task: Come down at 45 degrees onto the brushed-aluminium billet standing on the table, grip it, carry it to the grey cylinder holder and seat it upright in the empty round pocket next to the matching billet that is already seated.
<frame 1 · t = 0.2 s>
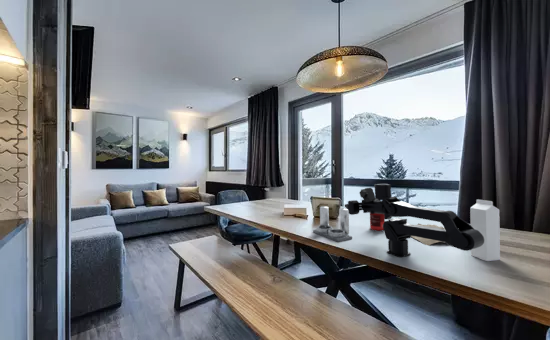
hand: (351, 204, 119), 17 cm above the table, tool horizontal, fingers open, 9 cm apart
billet: (344, 232, 128), on the table
grey cylinder holder: (331, 235, 124), on the table
canned food: (377, 229, 134), on the table
stone slab: (431, 236, 120), on the table
milk: (485, 258, 90), on the table
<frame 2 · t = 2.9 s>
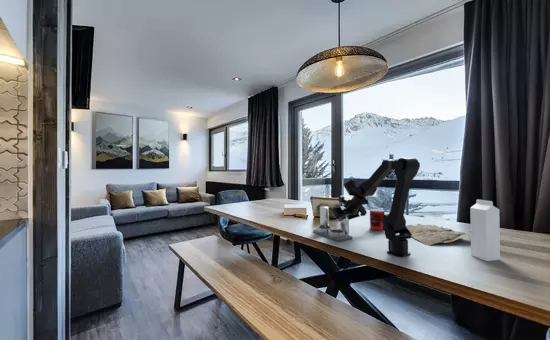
hand: (342, 220, 129), 7 cm above the table, tool tilted 45°, fingers closed on billet, 5 cm apart
billet: (344, 232, 128), on the table, touching gripper
everything else where it was.
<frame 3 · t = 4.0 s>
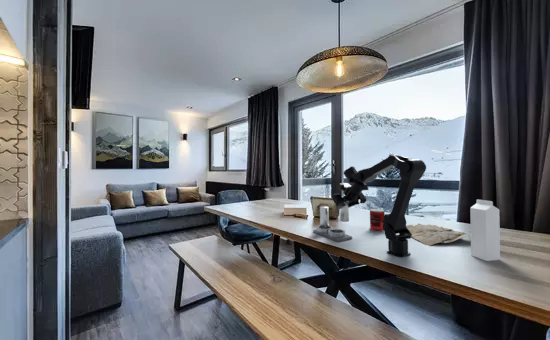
hand: (342, 208, 129), 13 cm above the table, tool tilted 45°, fingers closed on billet, 5 cm apart
billet: (344, 220, 127), point 7 cm above the table, touching gripper
everything else where it was.
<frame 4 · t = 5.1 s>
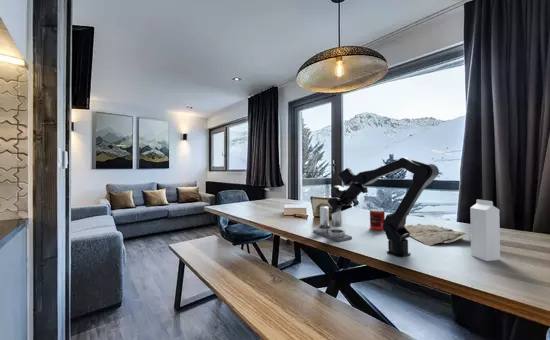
hand: (334, 212, 121), 13 cm above the table, tool tilted 45°, fingers closed on billet, 5 cm apart
billet: (336, 225, 120), point 6 cm above the table, touching gripper
everything else where it was.
when the fingers open (9 cm above the table, at t = 6.1 s): billet drops 1 cm, resting on grey cylinder holder.
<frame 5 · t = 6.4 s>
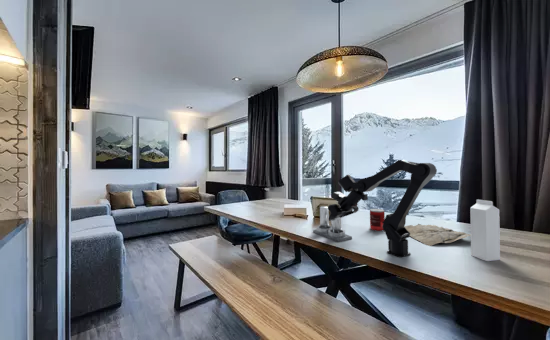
hand: (334, 218, 121), 9 cm above the table, tool tilted 45°, fingers open, 8 cm apart
billet: (336, 234, 120), point 1 cm above the table, touching grey cylinder holder
everything else where it was.
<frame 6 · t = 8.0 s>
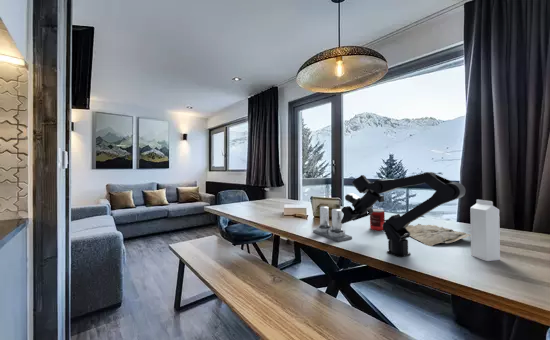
hand: (347, 221, 115), 9 cm above the table, tool tilted 45°, fingers open, 9 cm apart
nothing on the table moved.
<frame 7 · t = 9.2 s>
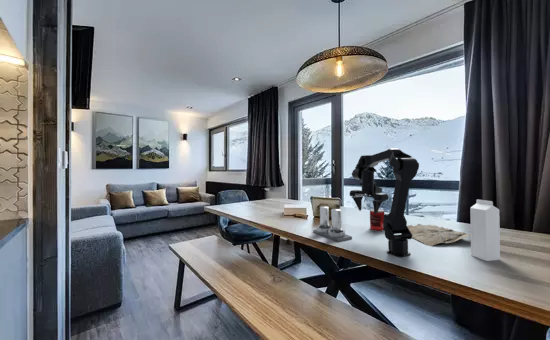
hand: (367, 212, 116), 13 cm above the table, tool pointing down, fingers open, 9 cm apart
nothing on the table moved.
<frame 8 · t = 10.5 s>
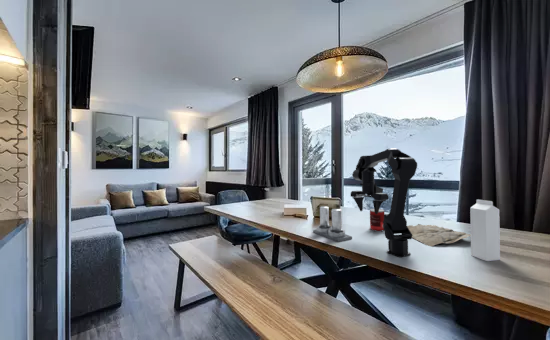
hand: (368, 212, 116), 13 cm above the table, tool pointing down, fingers open, 9 cm apart
at the end: billet 0.2 cm from the target spot, point 1.2 cm above the table; billet tilted 1°; the gripper is holding nothing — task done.
